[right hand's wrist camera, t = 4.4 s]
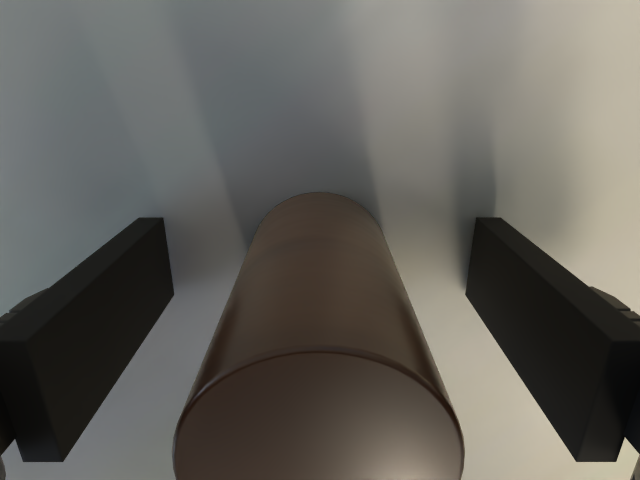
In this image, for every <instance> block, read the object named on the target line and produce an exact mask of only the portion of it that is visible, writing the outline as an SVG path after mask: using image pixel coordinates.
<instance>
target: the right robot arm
mask: <svg viewBox="0 0 640 480" xmlns="http://www.w3.org/2000/svg"><path fill="white" fill-rule="evenodd" d="M465 295H466V296H467V298H468V299H469V301H470V302H471V304H472V305H473V307H474V308H475V310H476V312H477V313H478V315H479V316H480V318H481V319H482V321H483V322H484V324H485V325H486V327H487V328H488V330H489V331H490V333H491V334H492V336H493V337H494V339H495V340H496V342H497V343H498V345H499V346H500V348H501V349H502V351H503V352H504V354H505V355H506V357H507V358H508V360H509V361H510V363H511V364H512V366H513V367H514V369H515V370H516V372H517V373H518V375H519V376H520V378H521V379H522V381H523V382H524V384H525V385H526V387H527V388H528V390H529V391H530V393H531V394H532V396H533V397H534V399H535V400H536V402H537V403H538V405H539V406H540V408H541V409H542V411H543V412H544V414H545V415H546V417H547V418H548V420H549V421H550V423H551V424H552V426H553V427H554V429H555V430H556V432H557V433H558V435H559V436H560V438H561V439H562V441H563V442H564V444H565V445H566V447H567V448H568V450H569V451H570V453H571V454H572V456H573V457H574V459H575V460H576V462H616V461H617V458H618V455H619V452H620V449H621V446H622V444H623V441H624V438H625V437H626V439H627V440H628V441H629V442H630V443H631V445H632V446H633V447H634V448H635V449H636V451H637V452H638V453H639V454H640V316H639V315H638V314H637V313H635V312H634V311H631V310H630V308H629V307H627V306H626V305H625V304H623V303H622V302H621V301H619V300H618V299H617V298H615V297H614V296H611V295H609V294H607V293H605V292H603V291H601V290H599V289H596V288H594V287H588V286H587V285H586V284H585V283H583V282H582V281H581V280H579V279H578V278H577V277H576V276H574V275H573V274H572V273H571V272H569V271H568V270H567V269H565V268H564V267H563V266H562V265H560V264H559V263H558V262H556V261H555V260H554V259H553V258H551V257H550V256H549V255H548V254H546V253H545V252H544V251H542V250H541V249H540V248H539V247H537V246H536V245H535V244H534V243H532V242H531V241H530V240H528V239H527V238H526V237H525V236H523V235H522V234H521V233H519V232H518V231H517V230H516V229H514V228H513V227H512V226H511V225H509V224H508V223H507V222H505V221H504V220H503V219H502V218H476V223H475V230H474V237H473V244H472V251H471V258H470V265H469V272H468V279H467V286H466V293H465ZM173 296H174V290H173V283H172V276H171V269H170V262H169V255H168V248H167V241H166V234H165V227H164V220H163V218H138V219H137V220H135V221H134V222H133V223H131V224H130V225H129V226H128V227H126V228H125V229H124V230H123V231H121V232H120V233H119V234H117V235H116V236H115V237H114V238H112V239H111V240H110V241H108V242H107V243H106V244H105V245H103V246H102V247H101V248H100V249H98V250H97V251H96V252H94V253H93V254H92V255H91V256H89V257H88V258H87V259H86V260H84V261H83V262H82V263H80V264H79V265H78V266H77V267H75V268H74V269H73V270H71V271H70V272H69V273H68V274H66V275H65V276H64V277H63V278H61V279H60V280H59V281H57V282H56V283H55V284H54V285H52V286H51V287H50V288H47V289H45V290H42V291H40V292H38V293H36V294H34V295H32V296H30V297H28V298H25V299H24V300H23V301H21V302H20V303H19V304H17V305H16V306H15V307H13V308H12V309H11V310H9V313H6V314H4V315H3V316H2V317H0V480H5V477H6V472H5V466H4V463H3V460H2V458H1V455H2V454H3V452H4V451H5V450H6V449H7V448H8V446H9V445H10V444H11V443H12V442H13V440H14V439H15V440H16V442H17V445H18V448H19V451H20V454H21V457H22V460H23V462H63V461H64V460H65V458H66V457H67V455H68V454H69V452H70V451H71V449H72V448H73V446H74V445H75V443H76V442H77V440H78V439H79V437H80V436H81V434H82V433H83V431H84V430H85V428H86V427H87V425H88V424H89V422H90V421H91V419H92V418H93V416H94V415H95V413H96V412H97V410H98V409H99V407H100V406H101V404H102V403H103V401H104V400H105V398H106V397H107V395H108V393H109V392H110V390H111V389H112V387H113V386H114V384H115V383H116V381H117V380H118V378H119V377H120V375H121V374H122V372H123V371H124V369H125V368H126V366H127V365H128V363H129V362H130V360H131V359H132V357H133V356H134V354H135V353H136V351H137V350H138V348H139V347H140V345H141V344H142V342H143V341H144V339H145V338H146V336H147V335H148V333H149V332H150V330H151V329H152V327H153V326H154V324H155V323H156V321H157V320H158V318H159V317H160V315H161V314H162V312H163V311H164V309H165V308H166V306H167V305H168V303H169V302H170V300H171V299H172V297H173ZM630 480H640V455H639V458H638V460H637V463H636V466H635V468H634V471H633V474H632V477H631V479H630Z"/></svg>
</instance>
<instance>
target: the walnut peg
mask: <svg viewBox="0 0 640 480" xmlns="http://www.w3.org/2000/svg"><path fill="white" fill-rule="evenodd" d="M464 456H465V448H464V438H463V434H462V430H461V427H460V423H459V421H458V418H457V416H456V413H455V411H454V408H453V406H452V403H451V401H450V398H449V396H448V394H447V391H446V389H445V386H444V384H443V381H442V379H441V376H440V374H439V371H438V369H437V366H436V364H435V361H434V359H433V356H432V354H431V351H430V349H429V347H428V344H427V342H426V339H425V337H424V334H423V332H422V329H421V327H420V324H419V322H418V319H417V317H416V314H415V312H414V309H413V307H412V304H411V302H410V300H409V297H408V295H407V292H406V290H405V287H404V285H403V282H402V280H401V277H400V275H399V272H398V270H397V267H396V265H395V262H394V260H393V257H392V255H391V253H390V250H389V248H388V245H387V243H386V240H385V238H384V235H383V233H382V231H381V229H380V226H379V225H378V223H377V222H376V220H375V219H374V218H373V217H372V215H371V214H370V213H369V212H368V211H367V210H366V209H364V208H363V207H362V206H361V205H359V204H358V203H356V202H354V201H352V200H350V199H348V198H346V197H343V196H340V195H337V194H332V193H322V192H316V193H307V194H301V195H298V196H295V197H292V198H290V199H288V200H286V201H284V202H282V203H281V204H279V205H277V206H276V207H275V208H274V209H273V210H271V211H270V212H269V213H268V214H267V215H266V217H265V218H264V219H263V220H262V222H261V223H260V225H259V227H258V229H257V231H256V233H255V235H254V238H253V240H252V243H251V245H250V248H249V250H248V252H247V255H246V257H245V260H244V262H243V265H242V267H241V270H240V272H239V274H238V277H237V279H236V282H235V284H234V287H233V289H232V291H231V294H230V296H229V299H228V301H227V304H226V306H225V308H224V311H223V313H222V316H221V318H220V321H219V323H218V326H217V328H216V330H215V333H214V335H213V338H212V340H211V343H210V345H209V347H208V350H207V352H206V355H205V357H204V360H203V362H202V364H201V367H200V369H199V372H198V374H197V377H196V379H195V382H194V384H193V386H192V389H191V391H190V394H189V396H188V399H187V401H186V403H185V406H184V408H183V411H182V413H181V416H180V418H179V420H178V423H177V426H176V430H175V434H174V437H173V447H172V457H173V469H174V473H175V477H176V480H461V476H462V473H463V468H464Z"/></svg>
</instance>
